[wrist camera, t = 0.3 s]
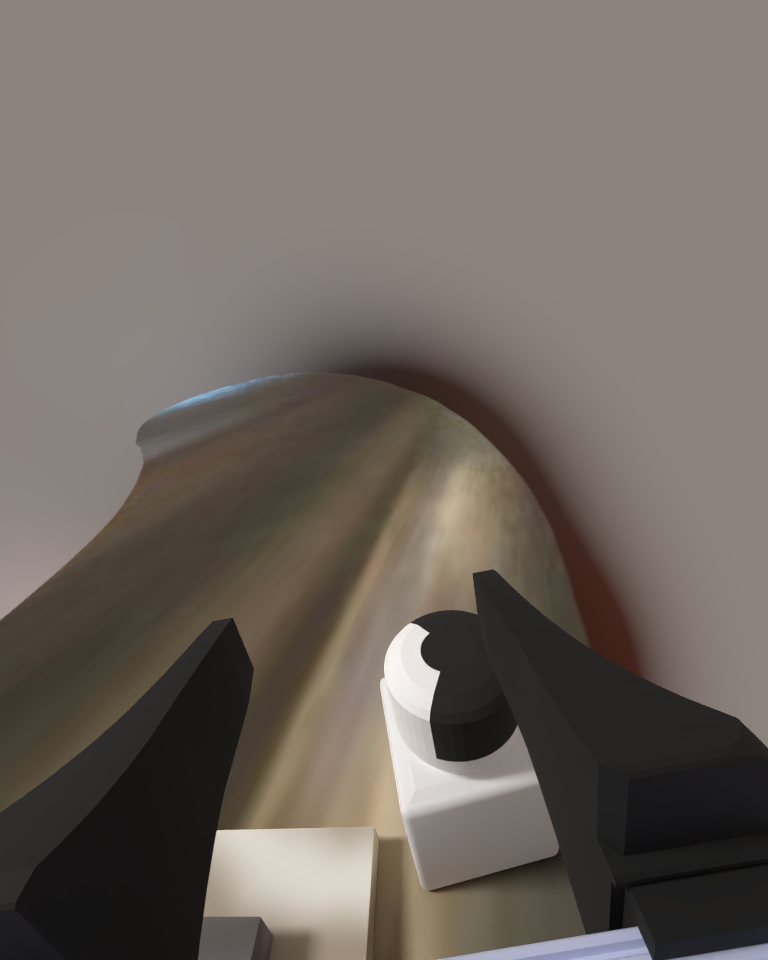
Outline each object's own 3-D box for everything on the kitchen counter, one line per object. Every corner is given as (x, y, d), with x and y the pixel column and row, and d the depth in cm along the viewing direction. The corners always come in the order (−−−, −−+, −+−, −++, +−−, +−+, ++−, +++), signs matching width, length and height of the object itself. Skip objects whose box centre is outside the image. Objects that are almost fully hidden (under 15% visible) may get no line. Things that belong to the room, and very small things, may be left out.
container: (504, 724, 30) (495, 579, 25) (561, 857, 23) (566, 699, 18) (397, 751, 30) (361, 611, 24) (422, 895, 23) (381, 747, 17)
